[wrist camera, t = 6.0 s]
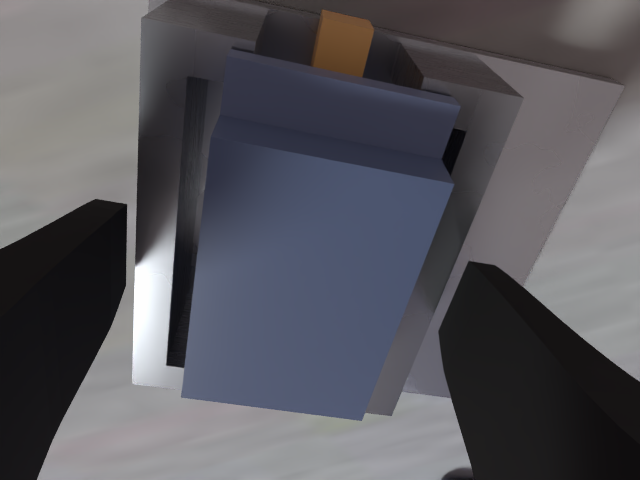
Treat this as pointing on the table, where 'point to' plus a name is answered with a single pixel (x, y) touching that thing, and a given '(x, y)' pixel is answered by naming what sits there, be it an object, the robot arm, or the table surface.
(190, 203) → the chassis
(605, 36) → the table surface
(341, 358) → the blue-grey long block
